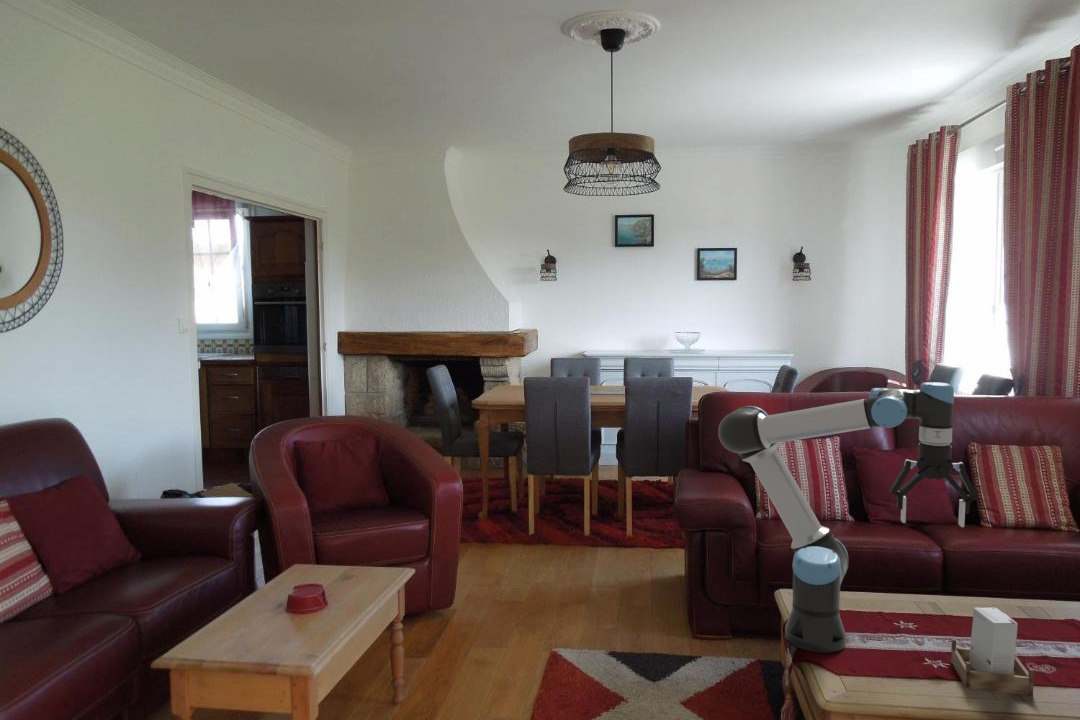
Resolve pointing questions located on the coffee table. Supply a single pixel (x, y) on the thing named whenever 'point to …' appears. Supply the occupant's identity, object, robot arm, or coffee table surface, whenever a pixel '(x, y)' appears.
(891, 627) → the coffee table surface
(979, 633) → the skincare box
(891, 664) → the coffee table surface
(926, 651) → the coffee table surface
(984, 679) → the box
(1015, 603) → the coffee table surface
